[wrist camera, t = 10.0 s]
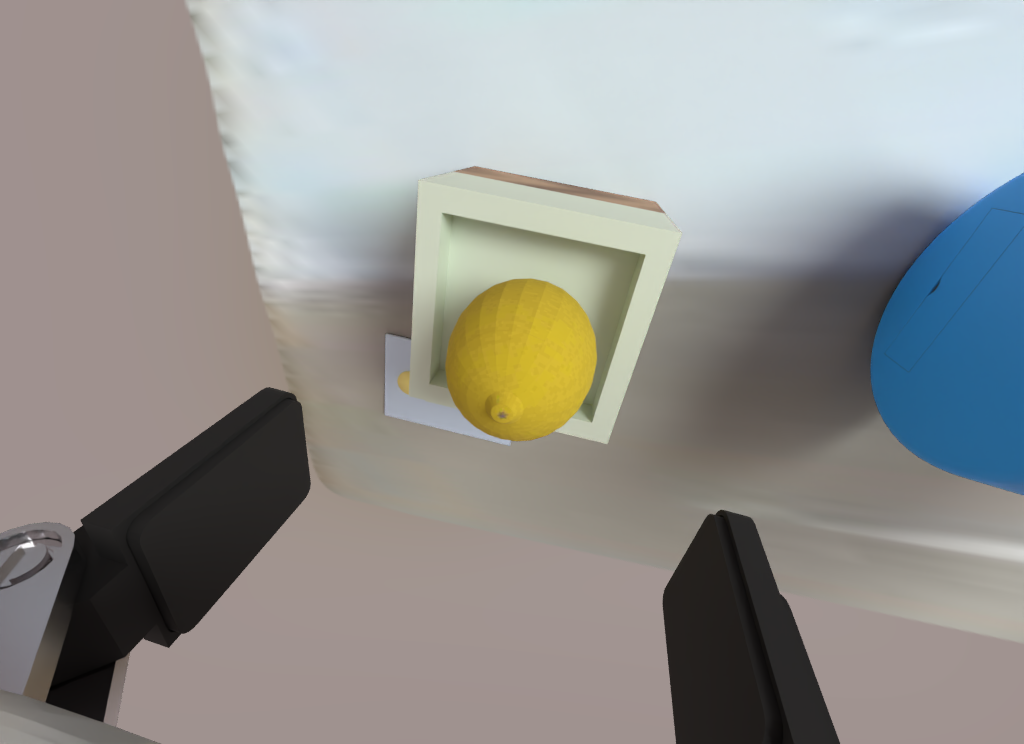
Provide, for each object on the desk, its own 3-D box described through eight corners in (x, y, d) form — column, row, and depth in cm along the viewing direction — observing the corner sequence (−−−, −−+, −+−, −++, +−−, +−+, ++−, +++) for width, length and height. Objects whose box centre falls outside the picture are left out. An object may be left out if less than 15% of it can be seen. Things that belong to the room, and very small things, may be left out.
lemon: (497, 378, 22) (450, 492, 15) (461, 273, 19) (384, 349, 12) (608, 359, 20) (612, 476, 13) (583, 242, 18) (572, 310, 11)
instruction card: (526, 365, 29) (525, 367, 29) (510, 444, 32) (509, 446, 32) (386, 333, 30) (384, 335, 29) (385, 413, 33) (384, 415, 33)
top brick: (665, 213, 19) (682, 233, 15) (606, 395, 24) (607, 444, 20) (453, 171, 20) (418, 179, 16) (438, 356, 25) (408, 396, 21)
